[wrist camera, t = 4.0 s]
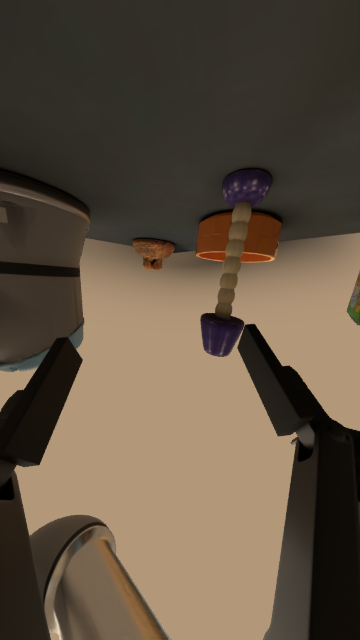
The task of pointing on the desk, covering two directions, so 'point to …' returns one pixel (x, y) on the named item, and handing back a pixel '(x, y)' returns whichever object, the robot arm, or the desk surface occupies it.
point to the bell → (153, 252)
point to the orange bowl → (256, 244)
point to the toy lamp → (233, 259)
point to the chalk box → (355, 303)
